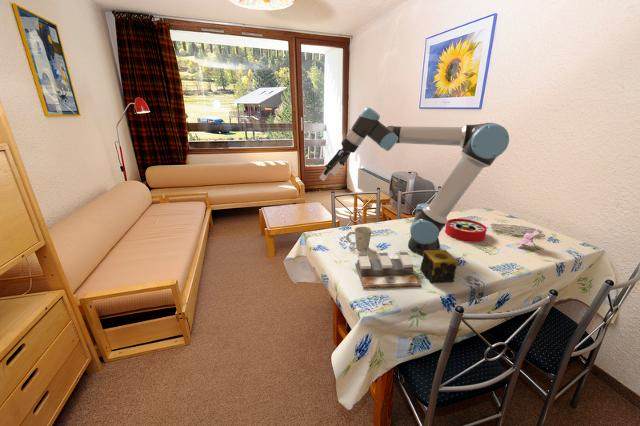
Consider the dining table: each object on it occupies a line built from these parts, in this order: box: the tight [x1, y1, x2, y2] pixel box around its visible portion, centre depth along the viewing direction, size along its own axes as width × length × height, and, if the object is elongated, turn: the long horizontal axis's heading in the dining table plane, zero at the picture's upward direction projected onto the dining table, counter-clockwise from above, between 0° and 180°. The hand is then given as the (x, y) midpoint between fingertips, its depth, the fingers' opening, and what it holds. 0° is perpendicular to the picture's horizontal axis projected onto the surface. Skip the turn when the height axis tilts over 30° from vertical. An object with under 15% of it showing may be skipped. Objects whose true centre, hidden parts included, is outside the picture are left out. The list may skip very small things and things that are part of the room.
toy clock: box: [444, 218, 487, 243], centre depth 154 cm, size 20×6×20 cm
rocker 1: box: [357, 252, 371, 269], centre depth 117 cm, size 4×8×2 cm, turn 3°
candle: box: [419, 249, 459, 284], centre depth 114 cm, size 10×10×10 cm
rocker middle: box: [377, 252, 392, 268], centre depth 118 cm, size 4×8×2 cm, turn 3°
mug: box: [345, 226, 373, 252], centre depth 139 cm, size 8×13×10 cm, turn 78°
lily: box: [517, 229, 540, 250], centre depth 139 cm, size 12×12×10 cm
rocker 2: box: [397, 251, 415, 268], centre depth 118 cm, size 4×8×2 cm, turn 3°
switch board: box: [354, 258, 422, 290], centre depth 116 cm, size 23×18×4 cm
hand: (327, 176), depth 135 cm, fingers open, 13 cm apart
